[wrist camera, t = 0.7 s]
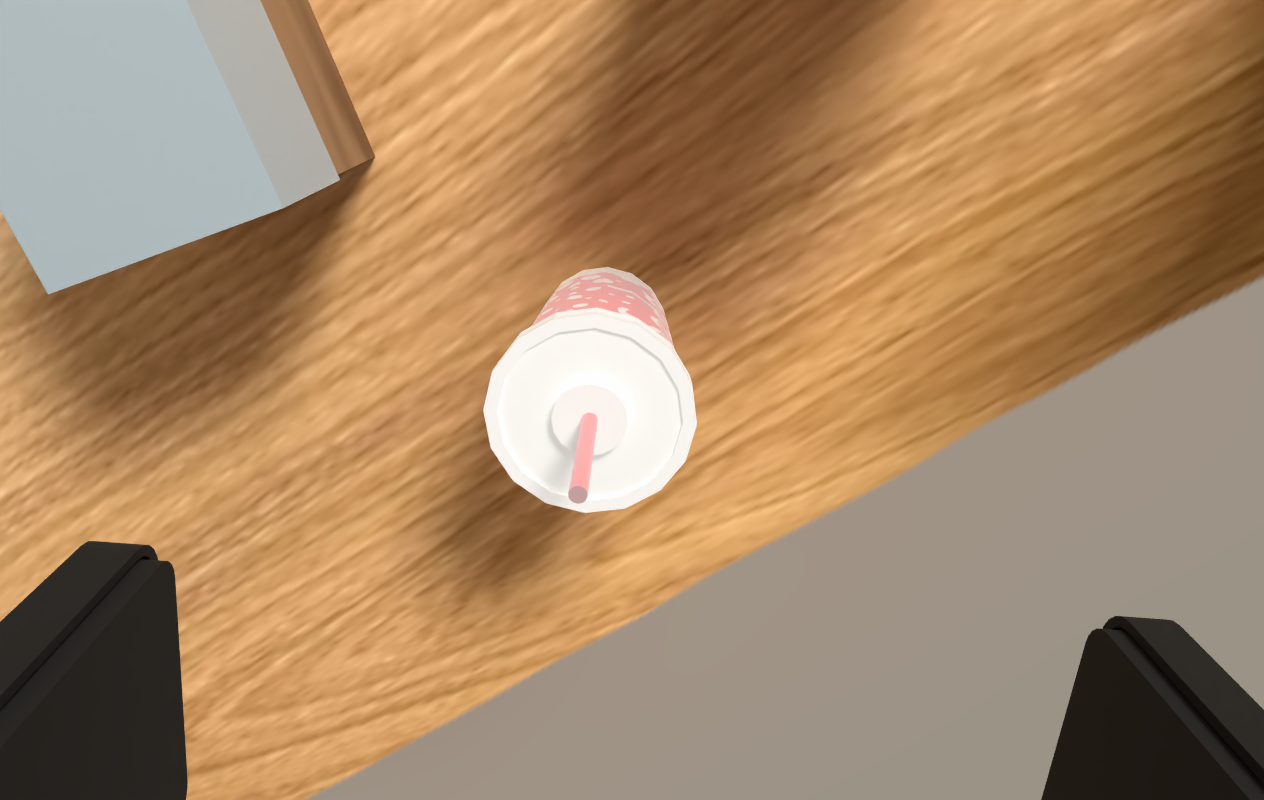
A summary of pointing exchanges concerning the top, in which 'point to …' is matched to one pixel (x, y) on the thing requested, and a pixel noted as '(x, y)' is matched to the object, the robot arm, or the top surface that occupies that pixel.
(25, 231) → the top block
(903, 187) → the top surface
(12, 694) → the robot arm
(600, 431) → the beverage cup
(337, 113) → the bottom block
